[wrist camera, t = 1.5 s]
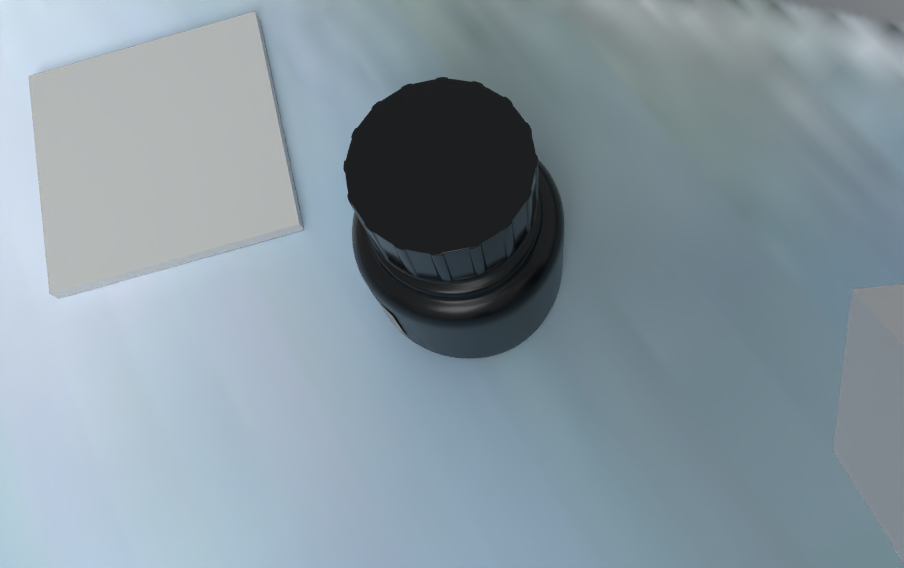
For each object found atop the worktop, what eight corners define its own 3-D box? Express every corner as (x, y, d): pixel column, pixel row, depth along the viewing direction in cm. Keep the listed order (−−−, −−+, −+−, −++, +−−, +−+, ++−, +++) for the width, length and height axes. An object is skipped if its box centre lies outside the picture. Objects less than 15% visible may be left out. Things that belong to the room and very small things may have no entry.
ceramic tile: (260, 20, 46) (255, 11, 45) (303, 229, 42) (299, 223, 41) (37, 83, 46) (28, 76, 45) (58, 298, 42) (49, 293, 41)
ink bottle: (416, 162, 42) (369, 19, 31) (585, 205, 40) (601, 71, 29) (351, 340, 40) (273, 256, 28) (528, 393, 38) (520, 328, 27)
